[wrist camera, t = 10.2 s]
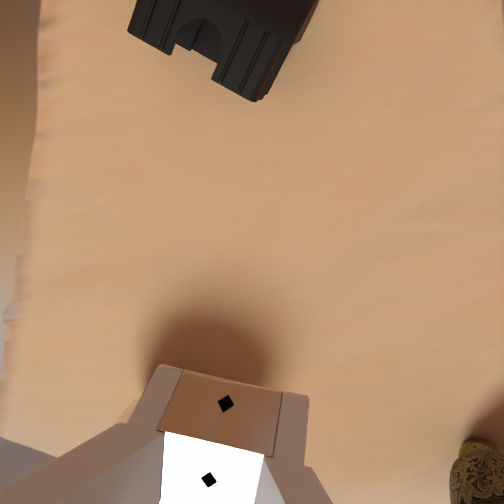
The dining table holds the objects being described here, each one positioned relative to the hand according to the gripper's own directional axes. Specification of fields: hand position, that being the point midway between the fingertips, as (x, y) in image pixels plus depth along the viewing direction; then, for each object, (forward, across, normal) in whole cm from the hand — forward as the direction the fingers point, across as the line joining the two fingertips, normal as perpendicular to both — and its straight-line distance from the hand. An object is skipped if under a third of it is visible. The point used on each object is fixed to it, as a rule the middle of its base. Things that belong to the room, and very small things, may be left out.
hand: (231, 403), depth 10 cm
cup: (+29, -22, +28) cm, 46 cm away
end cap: (+29, +7, -6) cm, 31 cm away
